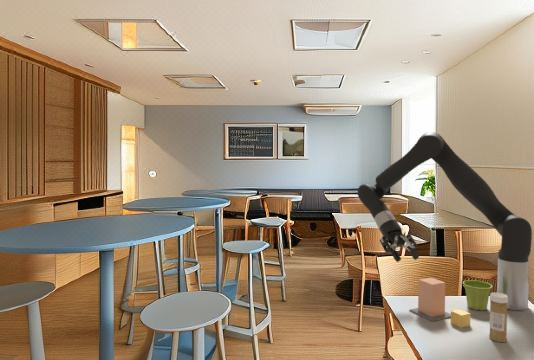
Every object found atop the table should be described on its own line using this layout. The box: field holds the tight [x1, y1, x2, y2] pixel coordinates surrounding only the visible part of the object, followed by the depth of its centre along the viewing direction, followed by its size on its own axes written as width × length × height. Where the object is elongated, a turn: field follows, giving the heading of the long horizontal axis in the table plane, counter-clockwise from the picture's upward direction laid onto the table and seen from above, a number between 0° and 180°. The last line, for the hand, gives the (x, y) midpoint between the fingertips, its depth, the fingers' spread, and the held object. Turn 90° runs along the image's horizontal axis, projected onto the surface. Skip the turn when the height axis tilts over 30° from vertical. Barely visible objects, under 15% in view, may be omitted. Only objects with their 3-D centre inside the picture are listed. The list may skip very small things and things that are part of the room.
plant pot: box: [462, 279, 493, 311], centre depth 137 cm, size 9×9×9 cm
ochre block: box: [450, 308, 471, 328], centre depth 123 cm, size 4×4×4 cm
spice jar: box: [488, 291, 508, 343], centre depth 112 cm, size 5×5×13 cm
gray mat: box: [409, 307, 451, 322], centre depth 131 cm, size 10×10×1 cm
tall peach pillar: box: [417, 277, 446, 317], centre depth 131 cm, size 6×6×11 cm
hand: (408, 259), depth 141 cm, fingers open, 8 cm apart
